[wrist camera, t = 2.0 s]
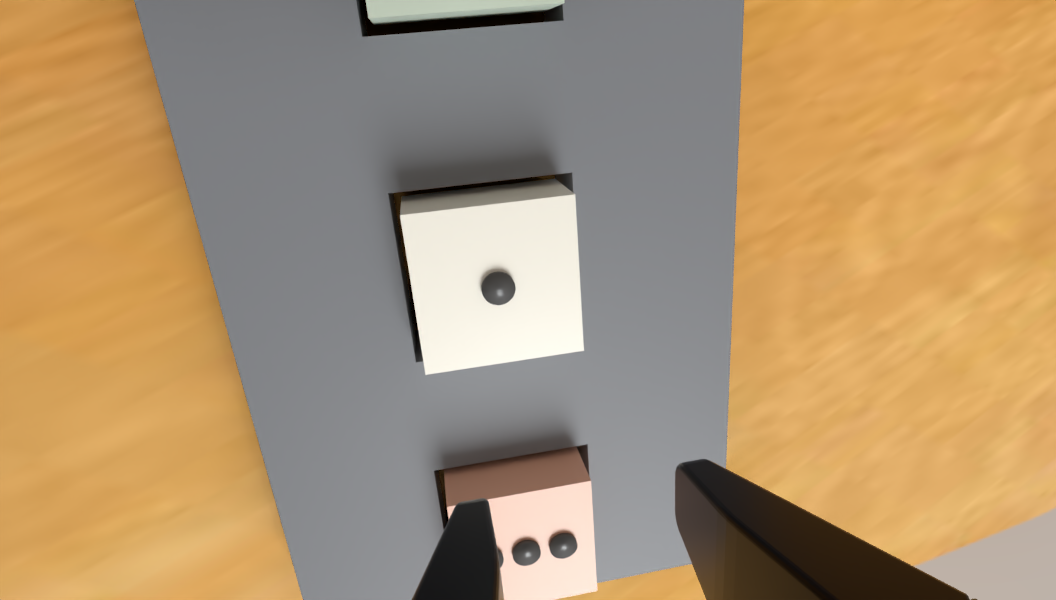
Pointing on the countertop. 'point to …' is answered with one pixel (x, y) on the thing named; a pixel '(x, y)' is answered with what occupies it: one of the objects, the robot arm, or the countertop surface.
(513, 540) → the three-dot button
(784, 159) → the countertop surface
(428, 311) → the one-dot button
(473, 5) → the two-dot button
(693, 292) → the button board
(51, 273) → the countertop surface
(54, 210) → the countertop surface
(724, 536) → the robot arm
